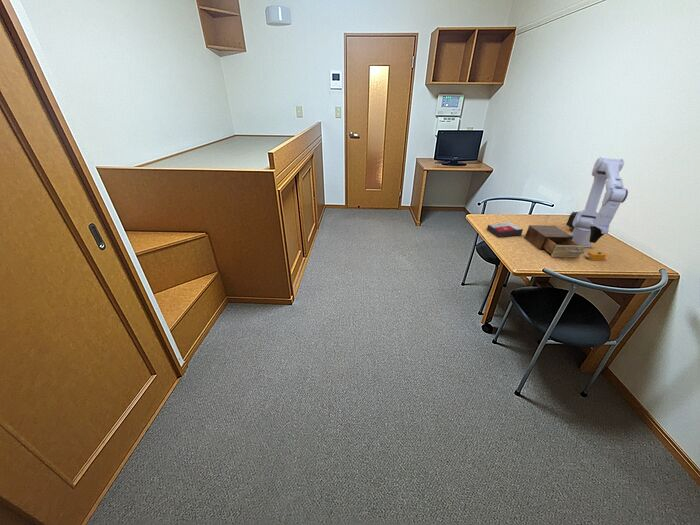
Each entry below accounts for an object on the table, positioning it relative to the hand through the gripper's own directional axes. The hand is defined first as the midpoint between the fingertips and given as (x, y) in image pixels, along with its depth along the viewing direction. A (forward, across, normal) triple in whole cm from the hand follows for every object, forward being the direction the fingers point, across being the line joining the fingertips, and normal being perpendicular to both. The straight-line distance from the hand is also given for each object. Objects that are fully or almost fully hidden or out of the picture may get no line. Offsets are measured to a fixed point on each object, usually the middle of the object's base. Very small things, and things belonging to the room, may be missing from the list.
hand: (592, 242), depth 138 cm
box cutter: (+9, -3, +5) cm, 11 cm away
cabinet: (+9, -12, -15) cm, 21 cm away
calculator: (+10, -18, -35) cm, 41 cm away
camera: (+10, -42, +6) cm, 44 cm away
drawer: (+8, -1, -10) cm, 13 cm away
